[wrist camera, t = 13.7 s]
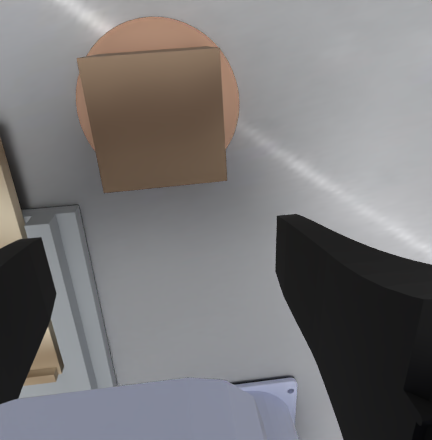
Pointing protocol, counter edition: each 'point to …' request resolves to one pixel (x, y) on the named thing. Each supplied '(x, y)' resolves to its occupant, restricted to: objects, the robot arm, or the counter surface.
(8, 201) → the multicoloured piece
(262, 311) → the counter surface
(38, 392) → the lane board
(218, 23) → the counter surface
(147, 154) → the walnut block
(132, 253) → the counter surface
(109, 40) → the coaster
